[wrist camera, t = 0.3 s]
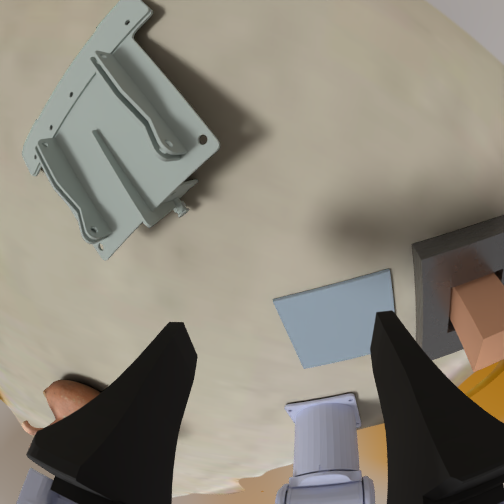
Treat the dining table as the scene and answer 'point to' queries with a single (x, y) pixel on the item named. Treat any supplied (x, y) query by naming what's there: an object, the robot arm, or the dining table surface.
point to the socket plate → (452, 278)
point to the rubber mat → (335, 318)
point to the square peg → (479, 319)
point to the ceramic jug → (64, 400)
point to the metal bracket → (118, 135)
